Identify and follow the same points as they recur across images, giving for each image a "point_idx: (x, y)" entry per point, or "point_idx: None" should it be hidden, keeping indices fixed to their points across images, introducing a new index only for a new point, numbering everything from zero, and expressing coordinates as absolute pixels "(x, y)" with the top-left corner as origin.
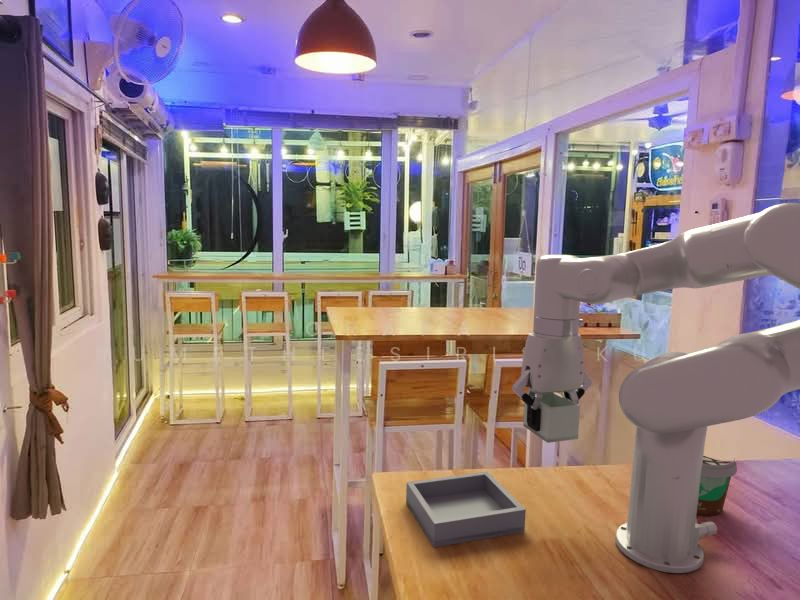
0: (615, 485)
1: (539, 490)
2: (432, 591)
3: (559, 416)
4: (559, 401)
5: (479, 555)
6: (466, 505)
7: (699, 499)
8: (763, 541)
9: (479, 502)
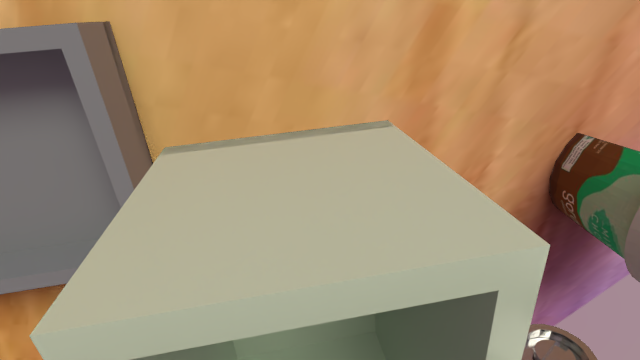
0: (517, 60)
1: (292, 48)
2: None
3: None
4: (448, 349)
5: (48, 295)
6: (12, 134)
7: (589, 232)
8: (578, 281)
9: (60, 123)
